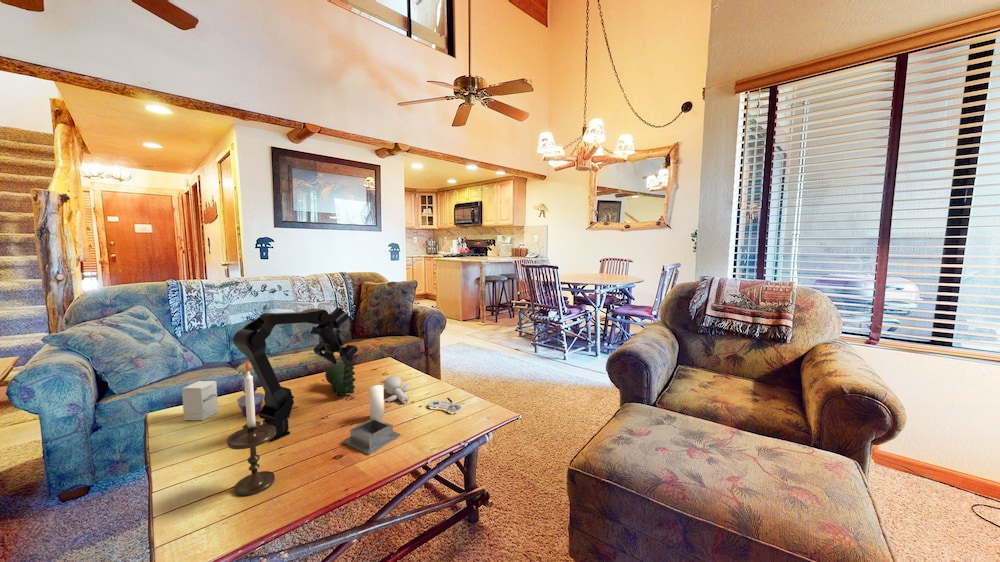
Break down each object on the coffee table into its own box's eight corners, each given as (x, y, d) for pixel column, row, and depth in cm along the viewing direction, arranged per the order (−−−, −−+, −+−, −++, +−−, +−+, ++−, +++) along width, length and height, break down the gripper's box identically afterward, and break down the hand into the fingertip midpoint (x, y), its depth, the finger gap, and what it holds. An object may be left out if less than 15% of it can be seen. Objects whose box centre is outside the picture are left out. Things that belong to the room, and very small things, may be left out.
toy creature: (389, 401, 142) (371, 379, 156) (394, 415, 145) (376, 392, 159) (417, 384, 148) (397, 365, 163) (421, 397, 151) (401, 377, 166)
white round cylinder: (376, 422, 131) (375, 391, 130) (367, 418, 134) (366, 388, 133) (386, 416, 135) (386, 386, 134) (378, 413, 138) (377, 383, 137)
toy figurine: (361, 399, 154) (341, 378, 172) (361, 358, 151) (341, 341, 169) (338, 406, 148) (320, 383, 166) (338, 363, 145) (320, 345, 163)
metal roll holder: (368, 455, 111) (368, 441, 110) (342, 442, 117) (342, 430, 117) (400, 436, 122) (400, 424, 121) (375, 426, 128) (374, 414, 128)
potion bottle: (265, 407, 143) (263, 378, 142) (265, 415, 136) (263, 385, 134) (238, 412, 138) (236, 382, 137) (237, 421, 131) (235, 390, 130)
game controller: (424, 408, 143) (424, 404, 143) (442, 396, 155) (442, 392, 155) (456, 416, 137) (456, 412, 137) (472, 403, 148) (472, 399, 148)
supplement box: (203, 421, 131) (200, 388, 130) (183, 421, 131) (180, 388, 130) (219, 412, 138) (216, 380, 137) (200, 411, 139) (198, 380, 137)
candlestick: (264, 497, 92) (256, 366, 88) (220, 499, 91) (210, 367, 87) (286, 471, 102) (279, 353, 99) (246, 472, 102) (239, 354, 98)
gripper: (359, 325, 142) (373, 354, 150) (326, 321, 149) (340, 349, 157) (339, 344, 133) (355, 373, 141) (305, 338, 141) (322, 367, 149)
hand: (343, 365), depth 147 cm, fingers open, 9 cm apart
